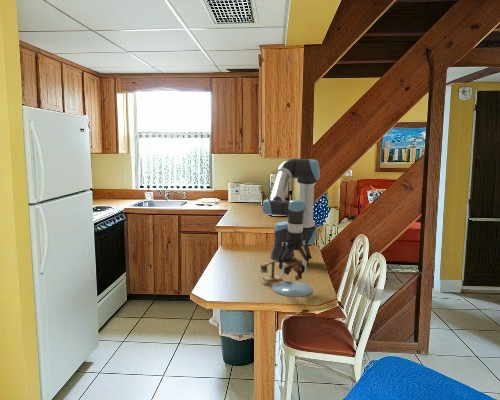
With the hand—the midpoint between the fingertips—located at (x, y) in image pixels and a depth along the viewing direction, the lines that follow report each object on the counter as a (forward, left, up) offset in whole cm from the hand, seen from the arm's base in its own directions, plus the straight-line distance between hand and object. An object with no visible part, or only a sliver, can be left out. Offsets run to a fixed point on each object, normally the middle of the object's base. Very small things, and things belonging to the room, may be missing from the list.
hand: (293, 273), depth 204 cm
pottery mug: (0, +1, -2) cm, 2 cm away
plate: (0, 0, -8) cm, 8 cm away
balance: (+3, -16, -8) cm, 18 cm away
